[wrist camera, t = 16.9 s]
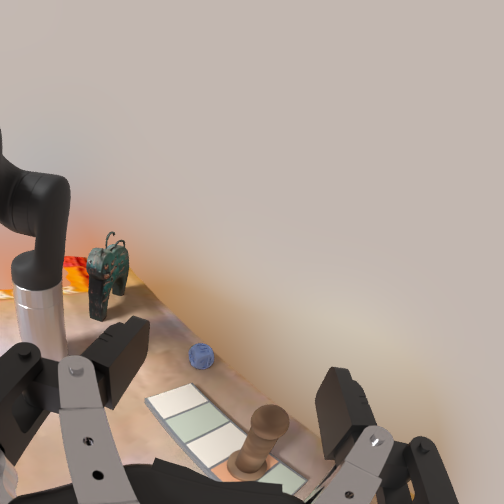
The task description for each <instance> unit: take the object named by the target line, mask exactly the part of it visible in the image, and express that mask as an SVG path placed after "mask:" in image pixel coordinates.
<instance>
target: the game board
mask: <svg viewBox="0 0 504 504" xmlns="http://www.w3.org/2000/svg"><path fill="white" fill-rule="evenodd" d="M145 404H146V406H147V407H148V408H149V410H150V411H151V412H152V413H153V415H154V416H155V417H156V419H157V420H158V421H159V422H160V424H161V425H162V426H163V427H164V429H165V430H166V431H167V432H168V433H169V435H170V436H171V437H172V438H173V439H174V441H175V442H176V443H177V444H178V445H179V446H180V447H181V448H182V450H183V451H184V452H185V453H186V454H187V455H188V456H189V457H190V458H191V459H192V460H193V461H194V463H195V464H196V465H197V466H198V467H199V468H200V469H201V470H202V471H203V472H204V473H205V474H206V475H207V476H208V477H209V478H210V479H213V480H215V481H219V482H237V481H240V480H238V479H236V478H234V477H233V476H232V475H231V474H230V473H229V471H228V469H227V461H228V458H229V456H230V455H231V454H232V453H233V452H235V451H237V450H241V448H242V446H243V443H244V441H245V439H246V437H247V435H248V434H246V433H245V432H244V431H243V430H242V429H240V428H239V427H238V426H237V425H236V424H235V423H234V422H232V421H231V420H230V419H229V418H228V417H227V416H226V415H225V414H224V413H223V412H221V411H220V410H219V409H218V408H217V407H216V406H215V405H214V404H213V403H212V402H211V401H210V400H209V399H208V398H207V397H206V396H205V395H204V394H203V393H202V392H201V391H200V390H199V389H198V388H197V387H196V386H195V385H194V384H193V383H190V384H187V385H184V386H181V387H179V388H176V389H173V390H170V391H167V392H164V393H161V394H158V395H154V396H151V397H148V398H145ZM265 460H266V462H267V470H266V472H265V474H264V475H263V476H262V477H261V478H260V479H259V480H257V481H258V482H266V483H276V484H282V488H283V492H285V493H288V494H290V495H294V494H295V493H296V492H297V491H298V490H299V489H300V488H301V487H302V486H303V485H304V484H305V483H306V482H307V481H308V480H307V479H306V478H304V477H303V476H301V475H300V474H298V473H297V472H296V471H294V470H293V469H291V468H290V467H289V466H287V465H286V464H284V463H283V462H282V461H280V460H279V459H278V458H276V457H275V456H274V455H272V454H271V453H269V455H268V456H267V458H266V459H265Z"/></svg>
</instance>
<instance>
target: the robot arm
mask: <svg viewBox="0 0 504 504" xmlns="http://www.w3.org/2000/svg"><path fill="white" fill-rule="evenodd" d="M70 198H71V196H70V186H69V183H68V181H67V179H65V177H63V176H59V175H53V174H46V173H38V172H30V171H25V170H21V169H19V168H18V167H16V166H14V165H13V164H12V163H10V162H9V161H8V160H7V159H6V158H5V157H4V156H3V155H2V135H1V129H0V223H1V224H3V225H4V226H5V227H7V228H8V229H10V230H12V231H14V232H16V233H20V234H24V235H28V236H33V237H36V240H35V241H36V242H35V250H32V251H28V252H24V253H22V254H20V255H18V256H17V257H15V258H14V260H13V261H12V265H11V274H12V284H13V294H14V301H15V308H16V315H17V321H18V326H19V331H20V336H21V341H22V342H21V343H17V344H15V345H14V346H12V347H11V348H10V349H9V350H8V351H7V352H6V353H5V354H3V355H2V356H1V357H0V504H370V502H371V500H372V499H373V497H374V495H375V493H376V496H377V502H378V504H459V503H458V500H457V498H456V495H455V492H454V490H453V487H452V484H451V482H450V479H449V477H448V474H447V471H446V469H445V467H444V464H443V462H442V459H441V457H440V455H439V453H438V450H437V448H436V446H435V444H434V443H433V442H432V441H431V440H430V439H428V438H426V437H422V436H418V437H415V438H414V439H413V440H412V441H411V442H410V443H409V444H406V443H402V442H397V441H394V440H393V437H392V435H391V434H390V433H389V432H388V431H387V430H386V429H384V428H382V427H380V426H377V423H376V421H375V418H374V416H373V413H372V410H371V408H370V405H368V401H367V398H366V395H365V393H364V390H363V388H362V387H361V386H360V385H359V384H358V383H357V382H356V381H354V380H352V377H351V375H350V372H349V370H348V369H345V368H338V367H331V368H330V369H329V371H328V372H327V374H326V376H325V379H324V380H323V382H322V384H321V386H320V388H319V390H318V392H317V394H316V398H315V405H316V411H317V417H318V422H319V428H320V434H321V440H322V446H323V452H324V458H325V460H335V465H334V466H333V467H332V468H331V469H330V471H329V472H328V473H327V475H326V476H325V477H324V478H323V480H322V481H321V482H320V483H319V485H318V486H317V487H316V488H315V489H314V491H313V492H312V493H311V494H310V495H309V496H308V497H307V498H306V499H305V500H304V501H302V500H300V499H299V498H297V497H295V496H293V495H290V494H288V493H285V492H283V488H282V484H276V483H266V482H258V481H237V482H219V481H215V480H213V479H210V478H208V477H206V476H204V475H202V474H199V473H197V472H195V471H193V470H191V469H189V468H187V467H184V466H180V465H177V464H173V463H170V462H167V461H164V460H161V459H158V458H155V460H154V463H153V465H151V464H129V465H122V462H121V460H120V457H119V454H118V451H117V448H116V445H115V442H114V439H113V436H112V433H111V430H110V427H109V423H108V420H107V416H106V413H105V409H104V407H107V408H109V409H112V410H114V408H115V406H116V405H117V403H118V402H119V400H120V398H121V397H122V395H123V394H124V392H125V391H126V389H127V387H128V386H129V384H130V383H131V381H132V380H133V378H134V377H135V375H136V373H137V372H138V370H139V369H140V367H141V366H142V364H143V363H144V361H145V359H146V356H147V352H148V342H149V329H150V322H149V321H148V320H145V319H142V318H139V317H136V316H132V317H131V318H130V319H129V320H128V321H127V322H126V323H125V324H123V323H121V322H119V323H116V324H114V325H111V326H109V327H108V328H107V329H106V330H105V331H104V333H102V334H101V335H100V336H99V338H97V339H96V340H95V341H94V342H93V343H92V344H91V345H90V346H89V347H88V348H87V349H86V350H85V351H84V352H83V353H82V354H81V355H80V356H78V355H71V356H68V349H67V341H66V332H65V322H64V309H63V290H62V268H63V261H64V254H65V240H66V230H67V222H68V216H69V209H70ZM50 412H54V413H58V414H59V417H60V425H61V432H62V438H63V444H64V449H65V454H66V459H67V463H68V468H69V472H70V476H71V479H72V483H70V484H67V485H63V486H60V487H56V488H52V489H48V490H44V491H40V492H35V493H31V494H26V495H21V496H18V497H17V495H16V488H17V483H18V474H17V471H16V469H15V467H14V466H15V465H16V463H17V461H18V460H19V458H20V457H21V455H22V454H23V452H24V450H25V449H26V447H27V446H28V444H29V443H30V441H31V440H32V438H33V437H34V435H35V434H36V432H37V431H38V429H39V428H40V426H41V425H42V423H43V422H44V421H45V419H46V418H47V416H48V415H49V413H50ZM410 480H411V481H412V484H413V488H414V491H415V497H414V500H413V501H412V499H411V495H410V491H409V488H408V484H407V483H408V482H409V481H410Z"/></svg>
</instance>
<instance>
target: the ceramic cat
mask: <svg viewBox="0 0 504 504" xmlns="http://www.w3.org/2000/svg"><path fill="white" fill-rule="evenodd" d="M112 233H113V236H114V235H115V232H110V233H109V234H108V235H107V238H106V249H103V248H94V249H92V251H91V252H90V254H89V256H88V259H87V267H86V269H87V272H88V274H89V291H88V293H89V312H90V318H92V319H95V320H98V321H101V322H102V321H103V320H104V319H105V317H106V313H107V306H108V299H109V294H110V291H111V288H112V293H113V294H115V295H118V296H122V295H123V294H124V292H125V286H126V282H127V277H128V271H129V256H128V251H127V249H126V248H125V241H124V240H119V241H117V243H116V244H112V245H109V246H108V247H107V240H108V238H109V236H110V234H112ZM119 242H123V244H124V247H123V246H119V245H117V244H118V243H119Z"/></svg>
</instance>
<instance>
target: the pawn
mask: <svg viewBox="0 0 504 504" xmlns="http://www.w3.org/2000/svg"><path fill="white" fill-rule="evenodd" d="M288 427H289V417H288V414H287V413H286V411H285V410H284V409H282V408H281V407H279V406H276V405H265V406H262V407H260V408H258V409H257V410H256V411H255V412H254V413H253V415H252V418H251V428H250V430H249V433H248V435H247V437H246V439H245V441H244V443H243V446H242V448H241V450H237V451H235V452H233V453H232V454H231V455H230V456H229V458H228V461H227V469H228V471H229V473H230V474H231V475H232V476H233V477H234V478H236V479H238V480H240V481H257V480H259V479H260V478H261V477H262V476H263V475H264V474H265V472H266V470H267V462H266V460H265V459H266V458H267V456H268V455H269V453H270V451H271V450H272V448H273V447H274V445H275V443H276V442H277V440H278V438H279V437H281V436H282V435H283V434H285V432H286V431H287V429H288Z"/></svg>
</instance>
